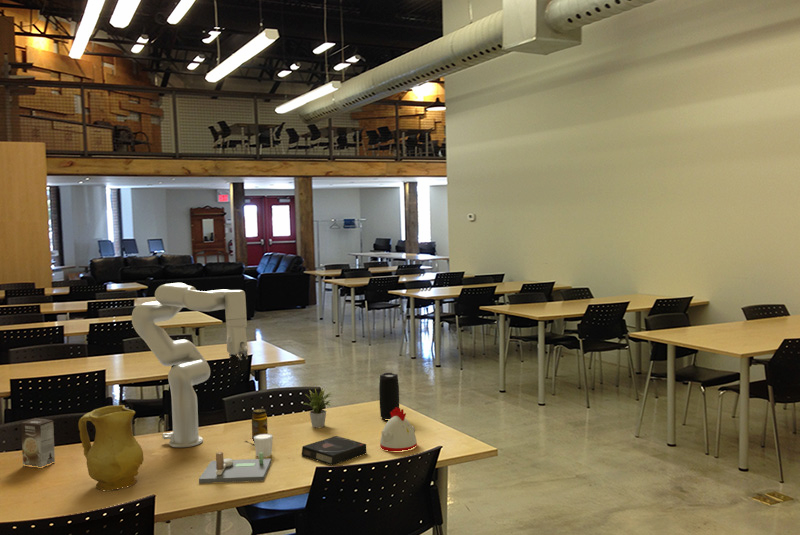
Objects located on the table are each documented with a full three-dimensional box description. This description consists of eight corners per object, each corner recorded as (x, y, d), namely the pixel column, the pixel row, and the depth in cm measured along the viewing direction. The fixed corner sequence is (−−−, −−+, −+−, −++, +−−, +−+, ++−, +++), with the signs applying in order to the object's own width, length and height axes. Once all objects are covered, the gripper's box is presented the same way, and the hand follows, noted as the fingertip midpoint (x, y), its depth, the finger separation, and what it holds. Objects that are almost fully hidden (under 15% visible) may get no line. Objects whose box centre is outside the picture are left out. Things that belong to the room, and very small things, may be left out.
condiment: (272, 440, 267) (271, 410, 266) (253, 445, 261) (252, 414, 260) (262, 436, 272) (261, 407, 271) (243, 441, 266) (242, 411, 265)
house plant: (333, 431, 276) (332, 392, 275) (300, 432, 276) (298, 392, 276) (337, 422, 290) (336, 384, 290) (305, 422, 291) (304, 385, 290)
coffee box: (21, 466, 241) (19, 422, 240) (36, 461, 247) (34, 417, 246) (41, 469, 238) (39, 424, 237) (56, 463, 244) (54, 419, 243)
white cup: (257, 459, 244) (256, 440, 244) (252, 453, 250) (251, 435, 250) (275, 455, 247) (275, 437, 247) (270, 450, 253) (269, 432, 253)
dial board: (198, 483, 221) (198, 466, 221) (211, 464, 239) (211, 449, 238) (263, 480, 222) (263, 464, 222) (271, 462, 240) (270, 447, 239)
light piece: (218, 462, 236) (217, 444, 235) (234, 461, 236) (234, 443, 236) (210, 475, 223) (209, 456, 223) (227, 474, 223) (226, 455, 223)
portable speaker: (381, 422, 289) (379, 376, 288) (379, 416, 298) (378, 372, 297) (400, 421, 290) (399, 376, 289) (398, 415, 299) (397, 371, 298)
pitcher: (109, 497, 210) (106, 418, 209) (74, 487, 220) (70, 411, 219) (155, 480, 225) (152, 406, 224) (120, 470, 235) (117, 399, 233)
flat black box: (301, 457, 246) (301, 446, 246) (336, 446, 259) (336, 435, 258) (331, 467, 235) (331, 456, 235) (366, 454, 247) (366, 444, 247)
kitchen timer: (396, 455, 245) (395, 414, 244) (372, 446, 256) (371, 407, 255) (424, 446, 254) (423, 407, 254) (400, 438, 265) (399, 401, 264)
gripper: (219, 322, 256) (221, 367, 257) (234, 326, 242) (237, 373, 243) (238, 320, 261) (240, 364, 261) (254, 323, 246) (256, 370, 247)
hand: (238, 368), depth 252 cm, fingers open, 9 cm apart
